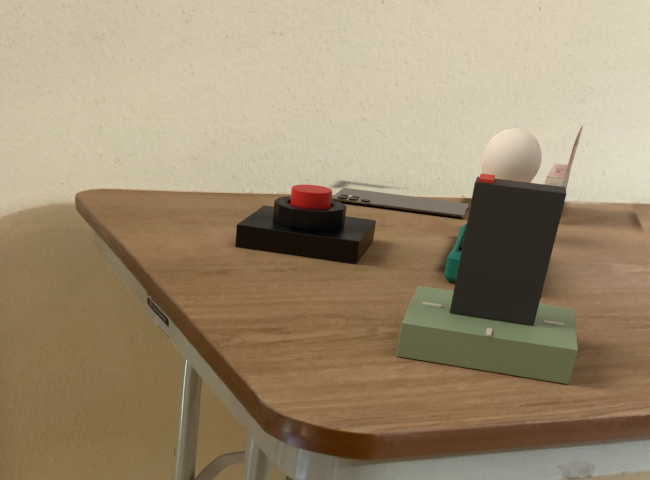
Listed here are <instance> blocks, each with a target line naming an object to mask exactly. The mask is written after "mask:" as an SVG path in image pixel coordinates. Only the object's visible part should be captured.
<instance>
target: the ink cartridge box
mask: <svg viewBox="0 0 650 480" xmlns="http://www.w3.org/2000/svg"><path fill="white" fill-rule="evenodd" d="M583 128H584V126H583V125H581V126H580V128H579V131H578V133H577V135H576V138H575V140H574V143H573V146H572V149H571V153H570V156H569V160H568V163H567V164H563V163H553V164H552V166H551V167H550V169H549V171H548V172H547V174H546V175H545V178H544V183H543V184H544V185H553V186H561V187H566V190H567V189H568V183H569V178H570V175H571V170H572V166H573V162H574V159H575V156H576V152H577V149H578V145H579V143H580V139H581V135H582V132H583Z"/></svg>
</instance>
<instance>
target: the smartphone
mask: <svg viewBox="0 0 650 480" xmlns="http://www.w3.org/2000/svg"><path fill="white" fill-rule="evenodd" d="M332 200H335V201H339V202H341V203H347V204H355V205H362V206H370V207H377V208H384V209H385V208H386V209H392V210H398V211H399V210H400V211H406V212H415V213H423V214H429V215H430V214H431V215H439V216H446V217H452V218H460V219H462V218H464V217H465V215H466V212H467V211H468V208H469V206H470V205H469V203H466V202H460V201H450V200H442V199H437V198H436V199H435V198H427V197H419V196H413V195H404V194H396V193H388V192H381V191H373V190H364V189H358V188H349V187H343V188H341V189H340V190H339V191H338V192H337V193H335V194H334V195H332Z"/></svg>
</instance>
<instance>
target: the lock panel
mask: <svg viewBox="0 0 650 480" xmlns="http://www.w3.org/2000/svg"><path fill="white" fill-rule="evenodd" d="M453 292H454V290H450V289H444V288H439V287H431V286H423V285H418V286H417V288H416V290H415V292H414V294H413V297H412V299H411V300H410V303H409V306H408V307H407V310H406V312H405V314H404V317H403V318H402V321H401V322H400V323H401V324H400V329H399V334H398V335H399V336H398V342H397V346H396V347H397V348H396V353H395V355H396V357H399V358H405V359H411V360H419V361H423V362H430V363H435V364H440V365H441V364H442V365H448V366H454V367H461V368H465V369H472V370H478V371H484V372H490V373H496V374H501V375H502V374H504V375H509V376H513V377H514V376H515V377H521V378H527V379H533V380H539V381H546V382H551V383H557V384H563V385H569V384H570V381H571V377H572V374H573V372H574V371H573V370H574V366H575V364H576V359H577V357H578V353H579V346H578V345H579V344H578V336H577V323H576V313H575V308H574V307H567V306H559V305H553V304H547V303H540V302H539V306H538V310H537V314H536V318H535V322H534V325H527V324H520V323H514V322H507V321H501V320H494V319H487V318H481V317H474V316H468V315H461V314H455V313H450V307H451V302H452V297H453Z"/></svg>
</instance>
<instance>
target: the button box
mask: <svg viewBox="0 0 650 480" xmlns="http://www.w3.org/2000/svg"><path fill="white" fill-rule="evenodd" d="M290 200H291V195H287V196H280V197H279V196H278V197H277V198H276V199H274V203H273V206H272V205H262V206H261V207H260V208H258V209H257V210H255V211H254V212H253V213H251V214H250V215H248V216H246V217H245V218H244V219H242V220H241V221H239V222H238V223H237V224H236V231H235V246H234V247H235V248H239V249H246V250H252V251H260V252H266V253H272V254H281V255H287V256H293V257H301V258H308V259H314V260H323V261H327V262H337V263H343V264H349V265H358V263H359V262H360V260H361V259H362V257H363V256H364V255H365V253H366V252H367V251H368V249H369V248H370V246H371V245H372V244H373V242H374V238H375V237H374V236H375V231H376V225H377V224H376V223H377V220H376V219H370V218H362V217H354V216H347V205H345V204H344V202H339V201H335V200H331V208H325V209H312V208H304V207H298V206H294V205H291V204H290Z"/></svg>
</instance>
